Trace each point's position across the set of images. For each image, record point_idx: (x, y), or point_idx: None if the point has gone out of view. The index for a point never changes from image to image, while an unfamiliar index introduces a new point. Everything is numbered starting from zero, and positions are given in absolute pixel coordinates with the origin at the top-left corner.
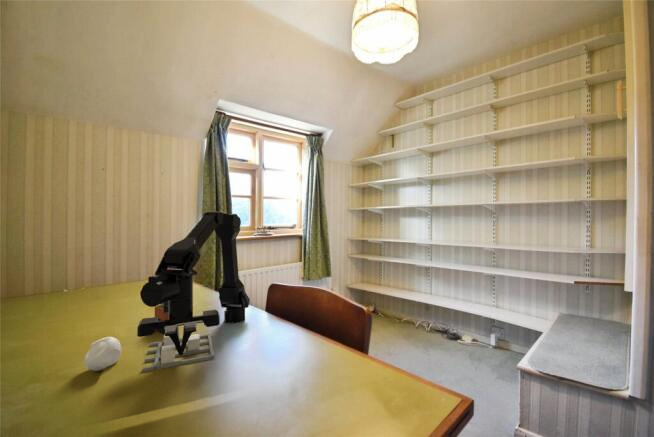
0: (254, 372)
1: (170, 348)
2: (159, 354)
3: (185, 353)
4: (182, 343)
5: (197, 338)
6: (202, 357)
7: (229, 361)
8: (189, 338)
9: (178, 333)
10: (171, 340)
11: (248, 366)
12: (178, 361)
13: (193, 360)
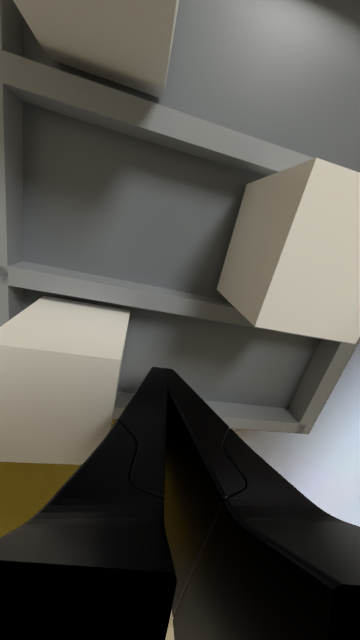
0: (340, 507)
1: (71, 424)
2: (6, 231)
3: (198, 315)
4: (168, 524)
5: (343, 330)
6: (255, 429)
7: (335, 420)
8: (288, 285)
9: (137, 634)
10: (112, 18)
11: (354, 475)
12: None
13: None
